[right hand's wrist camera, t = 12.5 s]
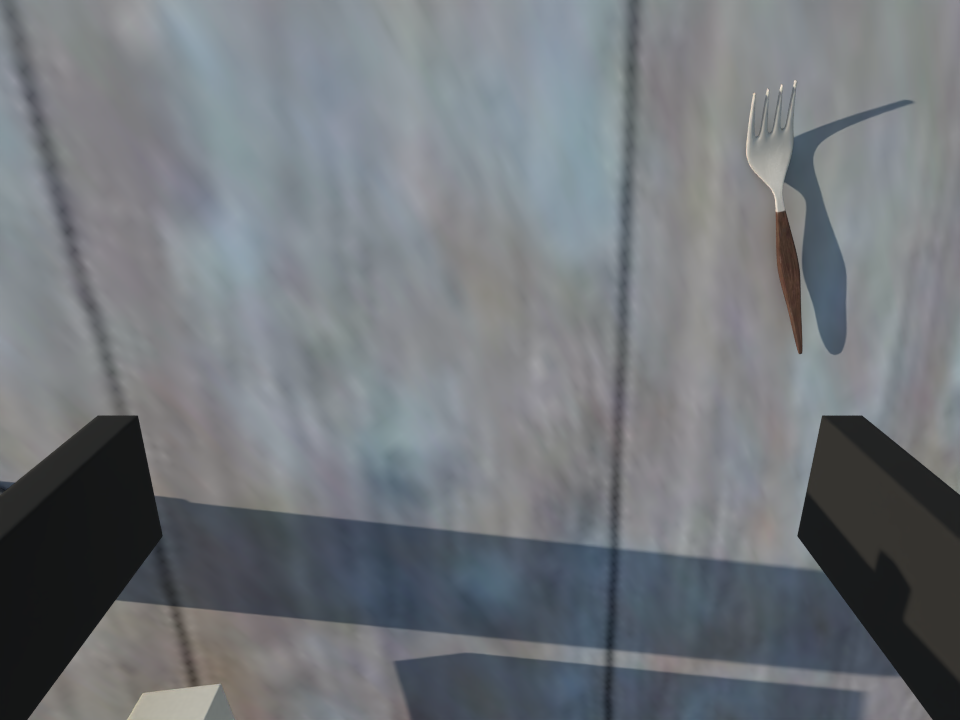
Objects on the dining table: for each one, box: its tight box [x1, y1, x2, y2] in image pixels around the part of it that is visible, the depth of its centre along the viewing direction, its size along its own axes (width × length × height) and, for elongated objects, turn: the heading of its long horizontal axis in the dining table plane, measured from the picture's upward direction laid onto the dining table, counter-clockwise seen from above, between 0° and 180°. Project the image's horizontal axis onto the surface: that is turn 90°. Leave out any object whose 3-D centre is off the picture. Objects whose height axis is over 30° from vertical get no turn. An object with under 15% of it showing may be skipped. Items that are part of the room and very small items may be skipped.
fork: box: [746, 80, 802, 354], centre depth 38 cm, size 3×16×2 cm, turn 16°
